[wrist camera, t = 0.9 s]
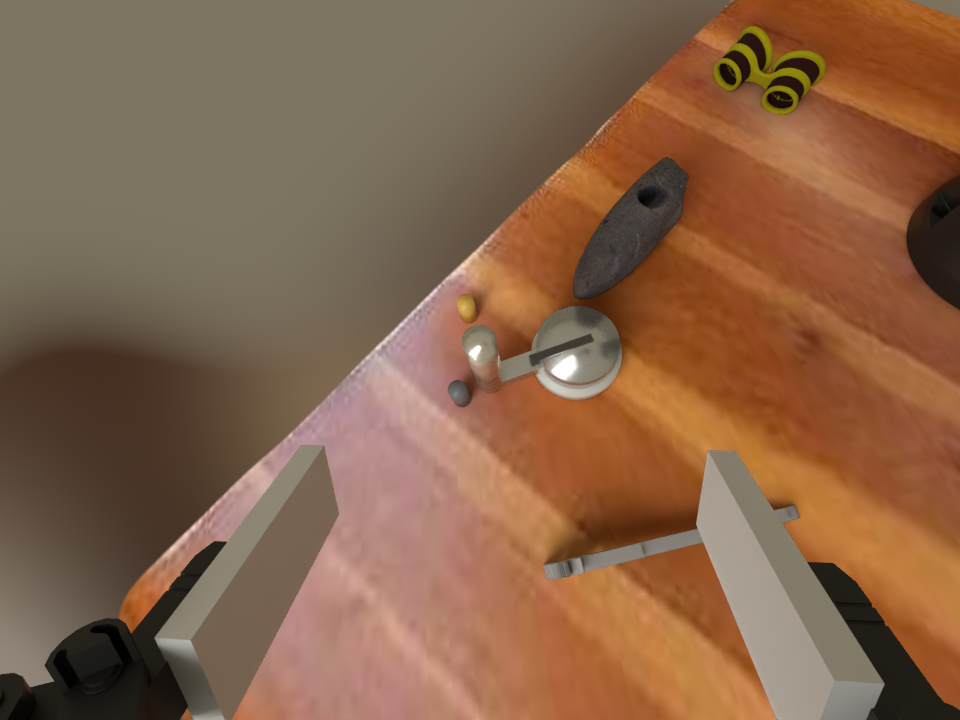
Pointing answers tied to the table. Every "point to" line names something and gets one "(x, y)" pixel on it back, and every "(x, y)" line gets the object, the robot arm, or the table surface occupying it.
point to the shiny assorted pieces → (463, 397)
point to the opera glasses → (785, 78)
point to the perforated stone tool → (631, 229)
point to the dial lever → (549, 351)
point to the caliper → (637, 550)
